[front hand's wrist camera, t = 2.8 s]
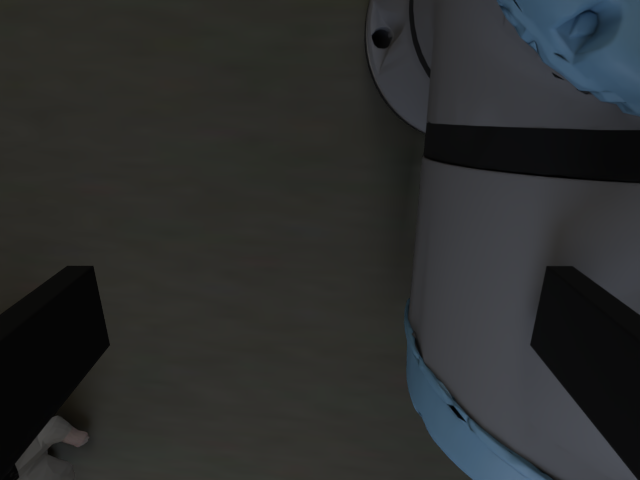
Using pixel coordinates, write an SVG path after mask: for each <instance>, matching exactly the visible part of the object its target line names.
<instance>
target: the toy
mask: <svg viewBox="0 0 640 480" xmlns="http://www.w3.org/2000/svg"><path fill="white" fill-rule="evenodd" d="M88 438H90V437H89V436H88V433H87V432H85V431H79V430H77V429H76V428H74V427H73V426H72V425H71V424H70V423H69V422H67V421H66V420H65V419H63V418H62V417H60V416H54V417H52V418H51V419H50V421H49V422H48V423H47V424H46V426H45V427H44V428H43V429H42V431H41V432H40V433H39V434H38V436H37V437H36V438H35V439H34V441H33V442H32V443H31V444H30V446H29V447H28V448H27V449H26V451H25V452H24V453H23V454H22V456H21V457H20V458H19V459H18V461H17V462H16V463H15V464H14V466H13V467H12V468H11V469H10V471H9V472H8V473H7V474H6V476H5V477H4V478H3V479H2V480H74V477H75V472H74V471H73V465H72V464H70V463H69V462H67V461H64V460H61V459H58V458H55V457H53V456H50V455H48V454H47V453H48V448H49V447H50V446H51V445H52V444H55V443H58V442H64V443H67V444H71V445H74V446H76V447H79V446H82V445H84V444H85V443H86V442H88V441H89V440H88Z"/></svg>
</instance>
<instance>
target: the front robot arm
mask: <svg viewBox="0 0 640 480" xmlns="http://www.w3.org/2000/svg"><path fill="white" fill-rule="evenodd" d="M365 51H366V58H367V63H368V67H369V70H370V74H371V77H372V79H373V82H374V84H375V86H376V88H377V90H378V92H379V94H380V95H381V97H382V98H383V100H384V101H385V103H386V104H387V105H388V107H389V108H390V109H391V110H392V111H393V112H394V113H395V114H396V115H397V116H398V117H399V118H400V119H401V120H403V121H404V122H405V123H407V124H408V125H410V126H411V127H413V128H414V129H416V130H418V131H420V132H422V133H425V134H426V135H425V147H424V154H423V156H422V167H421V179H420V190H419V202H418V213H417V225H416V236H415V248H414V259H413V271H412V282H411V294H410V298H409V299H408V300H407V303H406V307H405V321H404V325H405V333H406V337H407V369H406V372H407V383H408V389H409V393H410V397H411V399H412V402H413V405H414V407H415V409H416V411H417V412H418V413H419V414H420V415H421V416H422V418H423V421H424V423H425V425H426V428H427V430H428V432H429V433H430V435H431V437H432V438H433V440H434V441H435V442H436V443H437V444H438V446H439V447H440V448H441V449H442V450H443V451H444V452H445V454H446V455H447V456H448V457H449V458H450V459H451V460H452V461H453V462H454V463H455V464H456V465H457V466H458V467H459V468H460V469H461V470H462V471H463V472H465V473H466V474H467V475H468V476H469V477H471V478H472V479H473V480H640V0H370V1H369V5H368V9H367V15H366V21H365ZM109 346H110V343H109V338H108V334H107V329H106V324H105V319H104V315H103V310H102V305H101V300H100V296H99V291H98V286H97V281H96V277H95V272H94V267H93V266H67V267H65V268H64V269H62V270H61V271H60V272H58V273H57V274H56V275H54V276H53V277H51V278H50V279H49V280H47V281H46V282H45V283H43V284H42V285H40V286H39V287H38V288H36V289H35V290H34V291H32V292H31V293H29V294H28V295H27V296H25V297H24V298H23V299H21V300H20V301H18V302H17V303H16V304H14V305H13V306H12V307H10V308H9V309H7V310H6V311H5V312H3V313H2V314H1V315H0V480H2V479H3V478H4V477H5V476H6V474H7V473H8V472H9V471H10V469H11V468H12V467H13V466H14V464H15V463H16V462H17V461H18V459H19V458H20V457H21V456H22V454H23V453H24V452H25V451H26V449H27V448H28V447H29V446H30V444H31V443H32V442H33V441H34V439H35V438H36V437H37V436H38V434H39V433H40V432H41V431H42V429H43V428H44V427H45V426H46V424H47V423H48V422H49V421H50V419H51V418H52V417H53V416H54V414H55V413H56V412H57V411H58V409H59V408H60V407H61V406H62V404H63V403H64V402H65V401H66V399H67V398H68V397H69V396H70V394H71V393H72V392H73V391H74V389H75V388H76V387H77V386H78V384H79V383H80V382H81V381H82V379H83V378H84V377H85V376H86V374H87V373H88V372H89V371H90V369H91V368H92V367H93V366H94V364H95V363H96V362H97V361H98V359H99V358H100V357H101V356H102V354H103V353H104V352H105V351H106V349H107V348H108V347H109Z"/></svg>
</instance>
